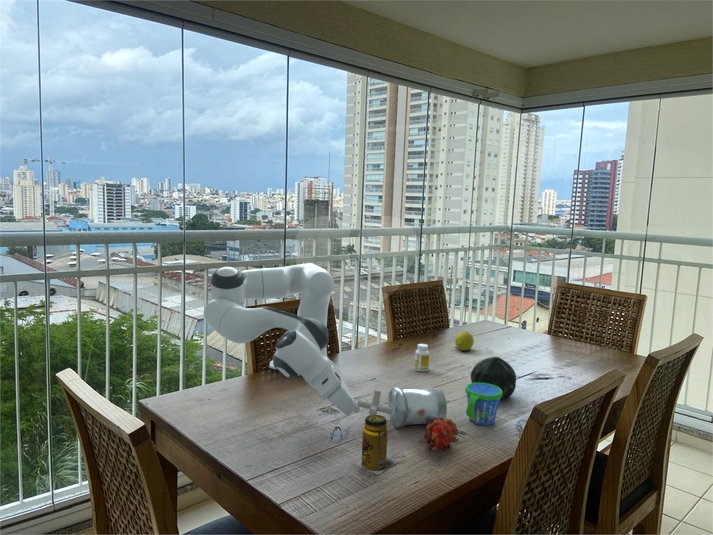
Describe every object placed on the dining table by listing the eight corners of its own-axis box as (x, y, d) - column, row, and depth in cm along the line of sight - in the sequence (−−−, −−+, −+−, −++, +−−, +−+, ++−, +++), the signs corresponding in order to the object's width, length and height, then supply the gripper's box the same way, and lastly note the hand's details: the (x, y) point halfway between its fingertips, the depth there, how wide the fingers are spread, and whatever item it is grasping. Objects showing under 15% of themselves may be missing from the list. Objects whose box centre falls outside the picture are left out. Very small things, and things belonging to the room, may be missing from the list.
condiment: (353, 464, 128) (356, 417, 126) (375, 453, 134) (377, 408, 133) (377, 475, 123) (380, 427, 122) (398, 463, 130) (401, 416, 128)
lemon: (466, 354, 226) (467, 336, 225) (450, 350, 231) (451, 332, 230) (477, 349, 235) (479, 331, 234) (461, 345, 239) (463, 328, 238)
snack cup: (481, 434, 148) (484, 399, 147) (451, 421, 156) (453, 388, 154) (510, 420, 159) (513, 388, 158) (481, 409, 166) (483, 378, 165)
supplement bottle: (430, 368, 204) (431, 344, 203) (425, 372, 199) (427, 347, 198) (416, 366, 206) (418, 342, 205) (412, 370, 201) (414, 345, 200)
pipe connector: (386, 434, 145) (392, 398, 145) (351, 425, 147) (357, 390, 147) (390, 423, 155) (396, 390, 155) (357, 415, 157) (364, 382, 156)
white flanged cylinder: (399, 435, 146) (401, 397, 145) (386, 416, 159) (388, 380, 157) (447, 433, 149) (450, 395, 148) (430, 414, 162) (433, 379, 160)
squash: (490, 368, 190) (478, 343, 181) (528, 382, 180) (518, 355, 171) (470, 400, 184) (457, 375, 175) (509, 415, 174) (497, 390, 165)
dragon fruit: (453, 445, 144) (431, 467, 135) (431, 421, 147) (408, 441, 138) (470, 428, 139) (448, 450, 130) (447, 404, 142) (424, 424, 133)
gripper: (311, 372, 155) (342, 403, 159) (321, 398, 135) (356, 432, 139) (327, 357, 156) (357, 388, 159) (339, 381, 136) (374, 415, 139)
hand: (357, 409), depth 149 cm, fingers closed
